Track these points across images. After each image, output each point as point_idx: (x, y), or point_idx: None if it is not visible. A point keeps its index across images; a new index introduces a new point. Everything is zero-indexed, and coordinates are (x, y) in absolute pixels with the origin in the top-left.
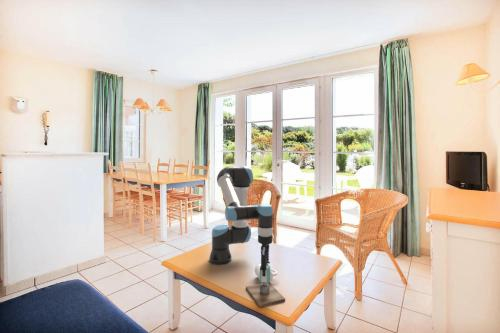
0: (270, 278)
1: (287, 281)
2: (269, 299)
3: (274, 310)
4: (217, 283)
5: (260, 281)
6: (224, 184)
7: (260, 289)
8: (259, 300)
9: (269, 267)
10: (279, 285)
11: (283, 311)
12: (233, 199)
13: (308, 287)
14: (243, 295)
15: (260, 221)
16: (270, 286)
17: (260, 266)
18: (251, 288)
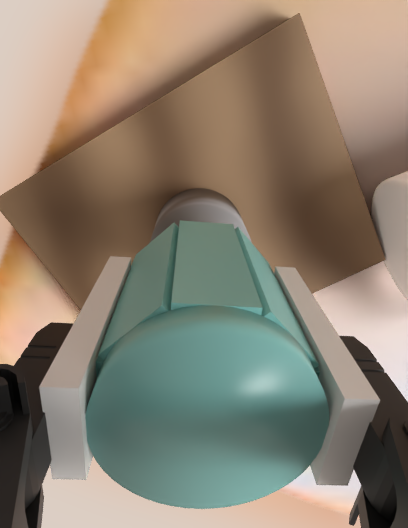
0: (404, 283)
1: (398, 377)
2: (95, 275)
3: (5, 303)
4: None
5: (381, 182)
6: None
7: (173, 205)
8: (57, 195)
9: (198, 497)
10: (343, 328)
11: (15, 354)
12: None
13: (312, 477)
14: (153, 7)
15: None
16: (300, 274)
17: (227, 343)
18: (256, 91)
